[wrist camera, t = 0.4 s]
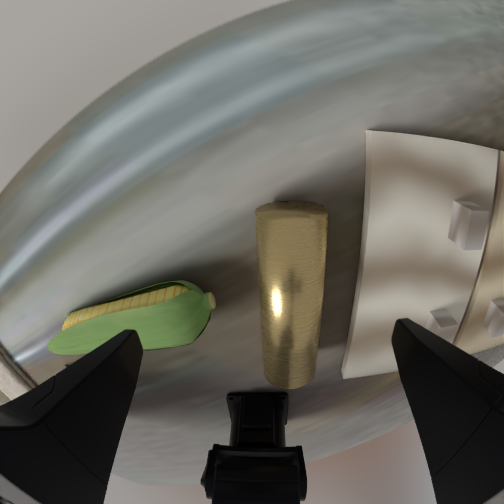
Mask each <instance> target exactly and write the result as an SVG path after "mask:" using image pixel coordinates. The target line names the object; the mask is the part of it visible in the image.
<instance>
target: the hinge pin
mask: <svg viewBox="0 0 504 504" xmlns="http://www.w3.org/2000/svg"><path fill="white" fill-rule="evenodd" d="M255 221H256V239H257V257H258V275H259V294H260V313H261V332H262V351H263V371H264V376H265V378H266V379H267V380H268V381H269V382H270V383H271V384H272V385H274V386H276V387H279V388H283V389H296V388H300V387H302V386H304V385H306V384H308V383H309V382H310V381H311V380H312V379H313V377H314V375H315V371H316V363H317V355H318V346H319V338H320V328H321V318H322V308H323V296H324V283H325V269H326V252H327V231H328V210H327V208H326V207H324V206H322V205H319V204H316V203H312V202H306V201H286V202H272V203H268V204H264V205H262V206H260V207H258V208H257V209H256V210H255Z"/></svg>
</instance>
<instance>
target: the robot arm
mask: <svg viewBox="0 0 504 504" xmlns="http://www.w3.org/2000/svg"><path fill="white" fill-rule="evenodd" d="M391 343H392V347H393V351H394V355H395V359H396V363H397V367H398V371H399V375H400V379H401V382H402V385H403V387H404V390H405V393H406V396H407V399H408V402H409V405H410V408H411V411H412V414H413V417H414V420H415V423H416V426H417V429H418V432H419V436H420V439H421V442H422V446H423V449H424V453H425V456H426V460H427V463H428V467H429V471H430V475H431V480H432V484H433V488H434V492H435V497H436V501H437V504H504V374H503V373H501V372H499V371H497V370H495V369H493V368H492V367H490V366H488V365H487V364H485V363H483V362H482V361H480V360H479V361H478V359H477V358H475V357H473V356H472V355H470V354H468V353H467V352H465V351H463V350H462V349H460V348H458V347H457V346H455V345H453V344H451V343H450V342H448V341H446V340H445V339H443V338H441V337H440V336H438V335H436V334H435V333H433V332H431V331H429V330H428V329H426V328H424V327H423V326H421V325H419V324H417V323H416V322H414V321H412V320H411V319H409V318H401V319H397V320H396V322H395V325H394V329H393V333H392V338H391ZM142 356H143V347H142V344H141V341H140V338H139V335H138V333H137V331H136V330H134V329H125V330H123V331H122V332H120V333H118V334H117V335H115V336H114V337H112V338H111V339H109V340H108V341H106V342H105V343H103V344H102V345H100V346H98V347H97V348H95V349H94V350H92V351H91V352H89V353H88V354H86V355H85V356H83V357H82V358H80V359H79V360H77V361H75V362H74V363H72V364H71V365H69V366H68V367H66V368H65V369H63V370H62V371H60V372H59V373H57V374H56V375H54V376H52V377H51V378H50V379H48V380H46V381H45V382H43V383H42V384H40V385H38V386H37V387H35V388H33V389H31V390H30V391H28V392H26V393H24V394H22V395H20V396H19V397H17V398H15V399H13V400H11V401H9V402H7V403H6V404H3V405H1V406H0V504H103V503H104V498H105V494H106V490H107V485H108V481H109V477H110V473H111V470H112V466H113V462H114V458H115V455H116V451H117V448H118V444H119V440H120V437H121V434H122V430H123V427H124V424H125V420H126V417H127V414H128V410H129V407H130V404H131V401H132V398H133V395H134V391H135V388H136V384H137V379H138V374H139V370H140V365H141V360H142ZM226 399H227V404H228V408H229V413H230V417H231V422H232V423H231V433H230V444H229V446H226V445H219V444H214V445H213V449H212V450H209V452H208V459H207V464H206V467H205V470H204V472H203V475H202V478H201V485H202V486H203V487H204V488H205V492H206V497H207V498H208V499H212V504H300V501H304V500H305V498H306V493H307V476H306V469H305V463H304V457H303V451H302V446H296V447H286V445H285V425H286V424H287V414H288V393H285V392H281V393H229V394H227V398H226Z"/></svg>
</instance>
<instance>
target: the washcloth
mask: <svg viewBox="0 0 504 504" xmlns="http://www.w3.org/2000/svg"><path fill="white" fill-rule="evenodd" d="M35 387H36V386H35V385H34V384H33V383H32V382H31V381H30V380H29V379H28V378H27V377H26V375H24V373H23V372H22V371H21V370H20V369H19V368H18V367H17V365H15V364H14V362H13V361H12V360H11V359H10V358H9V357H8V356H7V354H6V353H5V352H4V350H3V349H2V348H1V347H0V390H1V391H2V392H4V393H5V394H6V395H7V396H8V397H9V398H10V399H11V400H13V399H15V398H17V397H19V396H20V395H22V394H24V393H26V392H28V391H30V390H31V389H33V388H35Z"/></svg>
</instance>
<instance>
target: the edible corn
mask: <svg viewBox="0 0 504 504" xmlns="http://www.w3.org/2000/svg"><path fill="white" fill-rule="evenodd" d="M182 284H183V285H182ZM215 307H216V302H215V298H214V295H213V294H212V293H211V292H208V293H204V292H203V291H202V290H201V289H200V287H198V286H196V285H194V284H192V283H190V282H187V281H184V280H179V281H169V282H163V283H158V284H155V285H152V286H149V287H145V288H142V289H139V290H136V291H133V292H131V293H128V294H125V295H122V296H119V297H117V298H114V299H111V300H108V301H105V302H103V303H99V304H96V305H93V306H90V307H87V308H84V309H80V310H77V311H74V312H71V313H68V314H67V315H69V314H70V315H69V316H68V317H67V319H66V320H65V322H64V324H63V327H62V331H61V332H59V333H58V334H57V335H56V336H55V337H54V338H53V339H52V340H51V341H50V342H49V344H48V350H50V351H51V352H53V353H55V354H67V355H75V354H85V353H89V352H91V351H92V350H94V349H95V348H97V347H98V346H100V345H102V344H103V343H105V342H106V341H108V340H109V339H111V338H112V337H114V336H115V335H117V334H118V333H120V332H122V331H123V330H125V329H134V330H136V331H137V333H138V335H139V338H140V341H141V344H142V347H143V351H146V350H157V349H164V348H172V347H178V346H183V345H188V344H192V343H193V342H194V341H195V340H196V339H197V338H198V337H199V336H200V335H201V334H202V332H203V331H204V329H205V328H206V326H207V324H208V322H209V320H210V317H211V310H213V309H215Z"/></svg>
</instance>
